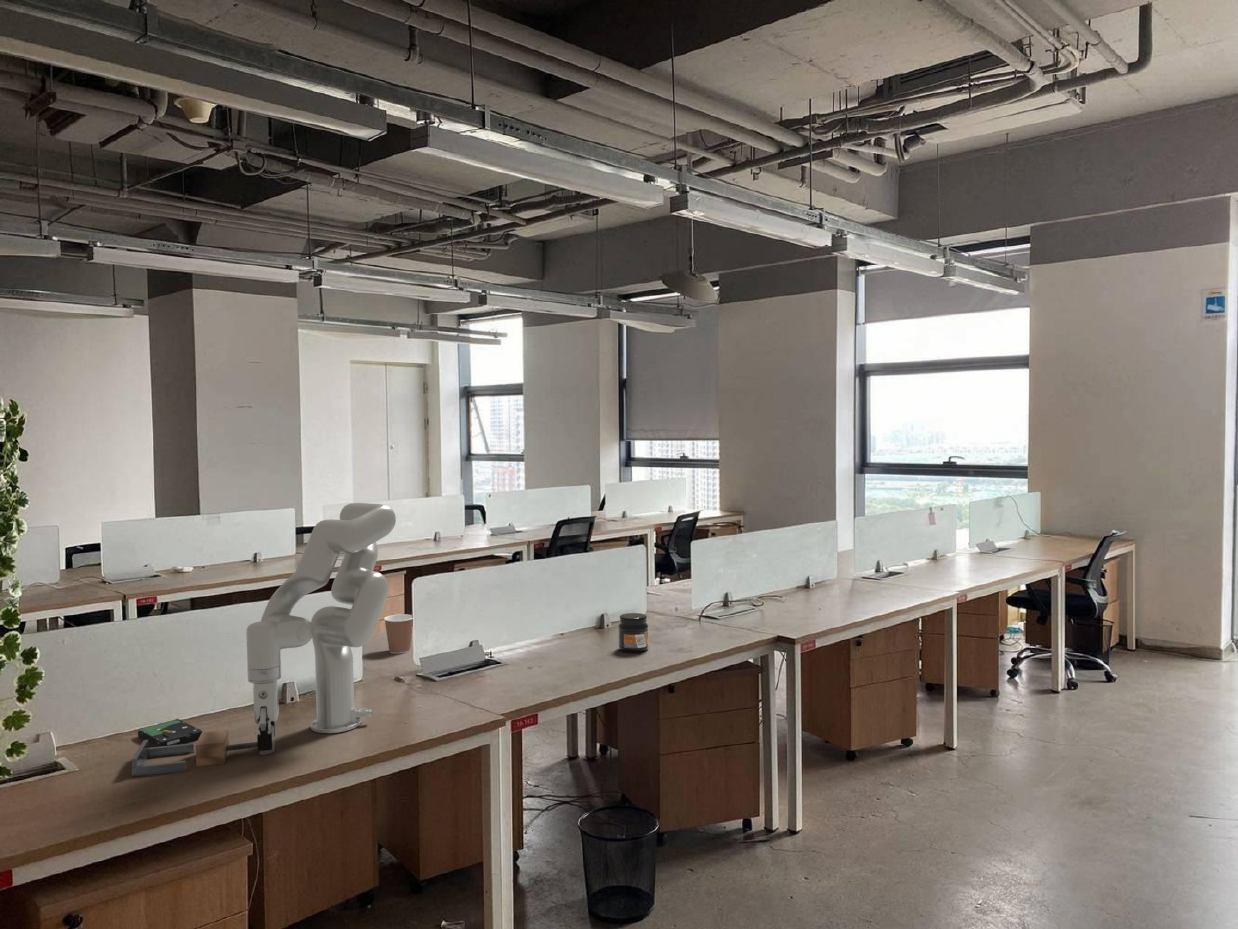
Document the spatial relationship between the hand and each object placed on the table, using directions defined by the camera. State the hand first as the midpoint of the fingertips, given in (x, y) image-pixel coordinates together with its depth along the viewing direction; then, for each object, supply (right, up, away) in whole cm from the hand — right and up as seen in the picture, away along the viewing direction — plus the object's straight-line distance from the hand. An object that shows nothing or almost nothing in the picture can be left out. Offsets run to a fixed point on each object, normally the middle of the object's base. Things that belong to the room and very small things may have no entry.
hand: (266, 743), depth 214 cm
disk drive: (-29, -3, +11) cm, 31 cm away
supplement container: (+91, +3, +94) cm, 131 cm away
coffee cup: (+9, +2, +95) cm, 95 cm away
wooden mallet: (-6, -2, -2) cm, 7 cm away
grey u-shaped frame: (-21, -3, -7) cm, 23 cm away
